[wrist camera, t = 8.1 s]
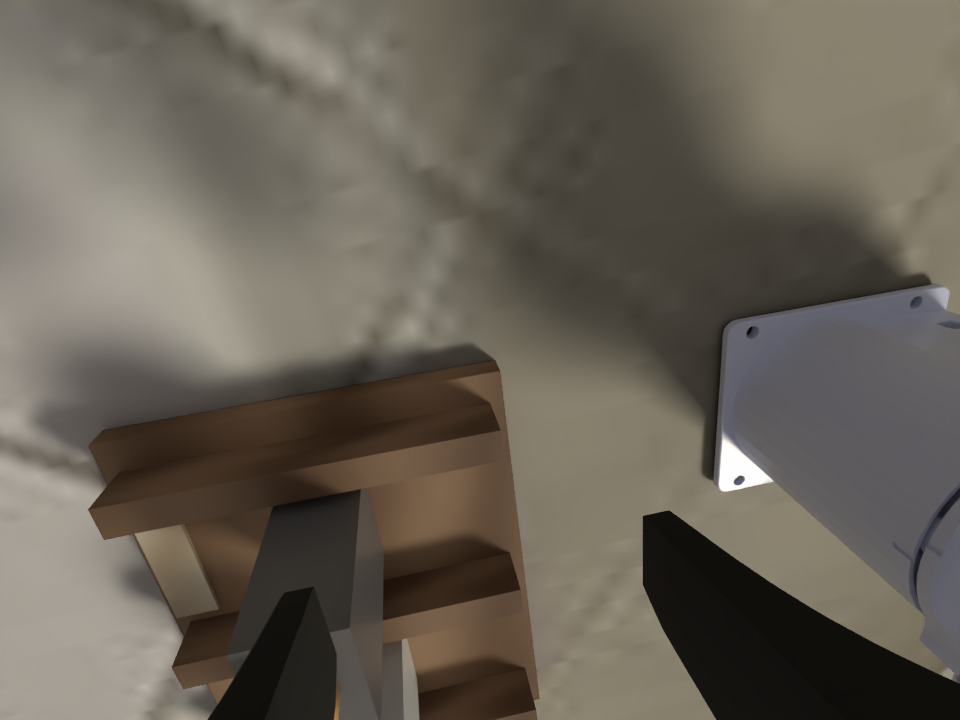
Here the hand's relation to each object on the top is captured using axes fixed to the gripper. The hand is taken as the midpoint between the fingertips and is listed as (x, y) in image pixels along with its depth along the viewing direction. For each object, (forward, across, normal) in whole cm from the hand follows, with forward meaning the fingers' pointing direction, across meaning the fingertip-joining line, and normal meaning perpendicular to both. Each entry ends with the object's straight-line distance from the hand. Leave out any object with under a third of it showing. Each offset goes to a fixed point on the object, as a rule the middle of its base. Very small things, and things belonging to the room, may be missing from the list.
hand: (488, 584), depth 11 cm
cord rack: (+9, +5, +8) cm, 13 cm away
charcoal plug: (+8, +5, +4) cm, 11 cm away
